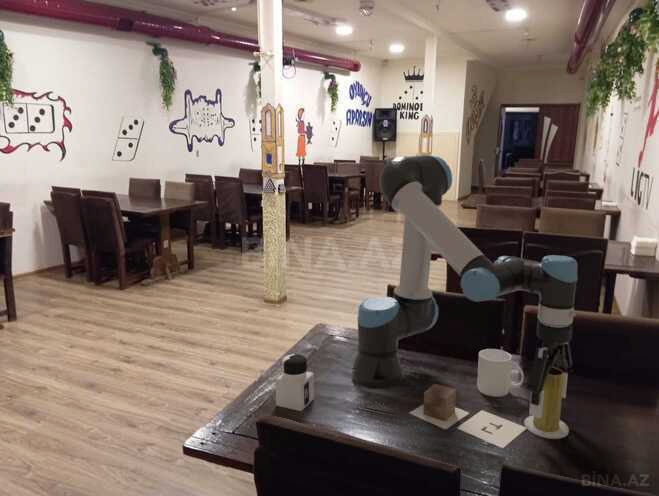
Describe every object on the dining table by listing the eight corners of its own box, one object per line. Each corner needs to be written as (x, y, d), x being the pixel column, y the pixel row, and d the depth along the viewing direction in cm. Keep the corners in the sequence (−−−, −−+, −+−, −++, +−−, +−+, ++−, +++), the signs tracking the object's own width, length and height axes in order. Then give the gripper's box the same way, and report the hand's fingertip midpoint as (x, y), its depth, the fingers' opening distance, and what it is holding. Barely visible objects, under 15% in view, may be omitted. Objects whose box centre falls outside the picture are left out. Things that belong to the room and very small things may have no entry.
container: (314, 398, 140) (314, 354, 138) (301, 412, 133) (300, 365, 131) (289, 393, 144) (288, 349, 141) (275, 406, 137) (274, 360, 134)
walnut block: (423, 414, 131) (424, 392, 130) (433, 404, 136) (434, 383, 135) (445, 421, 128) (446, 399, 127) (454, 411, 133) (455, 389, 131)
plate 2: (456, 429, 125) (456, 427, 125) (481, 411, 133) (481, 409, 133) (502, 449, 117) (502, 448, 116) (526, 428, 125) (526, 427, 125)
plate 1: (408, 414, 132) (408, 412, 132) (433, 399, 140) (433, 398, 139) (445, 430, 124) (445, 429, 124) (469, 413, 132) (469, 412, 132)
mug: (521, 402, 137) (523, 365, 135) (475, 394, 142) (476, 358, 140) (523, 388, 145) (525, 353, 143) (479, 381, 150) (481, 346, 148)
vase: (532, 428, 124) (537, 373, 121) (532, 416, 129) (537, 363, 126) (560, 434, 121) (566, 378, 118) (559, 421, 127) (565, 367, 124)
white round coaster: (516, 427, 125) (517, 425, 125) (535, 412, 132) (535, 410, 132) (558, 444, 118) (558, 442, 118) (575, 427, 125) (575, 425, 125)
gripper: (548, 340, 109) (540, 431, 113) (591, 313, 126) (583, 393, 130) (514, 331, 114) (508, 419, 118) (560, 306, 131) (553, 383, 135)
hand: (547, 405), depth 124 cm, fingers open, 13 cm apart
